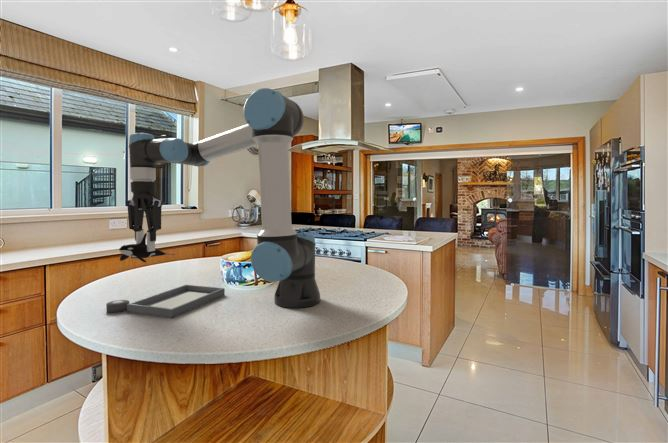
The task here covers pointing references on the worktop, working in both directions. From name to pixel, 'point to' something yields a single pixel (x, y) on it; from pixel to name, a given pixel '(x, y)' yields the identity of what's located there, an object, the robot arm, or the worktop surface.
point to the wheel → (117, 306)
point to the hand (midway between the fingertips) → (145, 250)
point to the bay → (175, 301)
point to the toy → (139, 251)
